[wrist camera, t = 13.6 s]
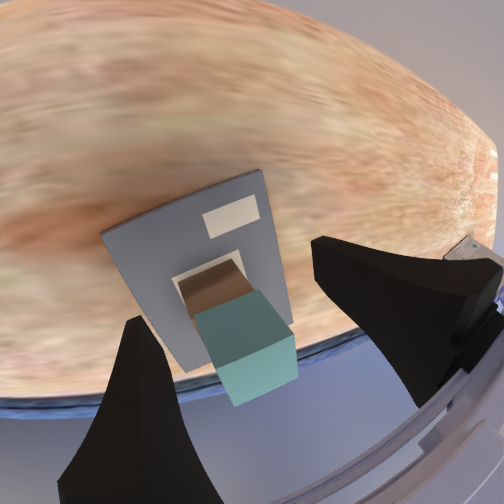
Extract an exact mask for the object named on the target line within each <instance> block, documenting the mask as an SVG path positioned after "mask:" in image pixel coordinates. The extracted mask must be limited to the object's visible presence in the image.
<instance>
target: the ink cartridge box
mask: <svg viewBox="0 0 504 504" xmlns="http://www.w3.org/2000/svg"><path fill="white" fill-rule="evenodd" d="M479 258H490V259H492V260H493V261H495V262H497V263H498V264H500V265H501V266H503V269H504V258H502V257H501V256H499V255H498V254H497V253H495V252H493V251H492V250H490V249H489V248H487V247H486V246H484V245H483V244H481V243H479V242H478V241H476V240H475V239H473V238H471V237H470V236H467V237H466V238H465V239H464V240H463V241H462V242H460V243H459V244H458V245H457V246H456V247H455V248H454V249H453V250H451V251H450V252H449V253H448V254H447V255H446V256H445V257H444V260H468V259H479ZM499 299H500V301H501V302H502V304H503V306H504V273H503V277H502V280H501V283H500V286H499V288H498V291H497V293H496V296H495V298H494V300H493V302H495V303H497V302H498V300H499Z"/></svg>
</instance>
